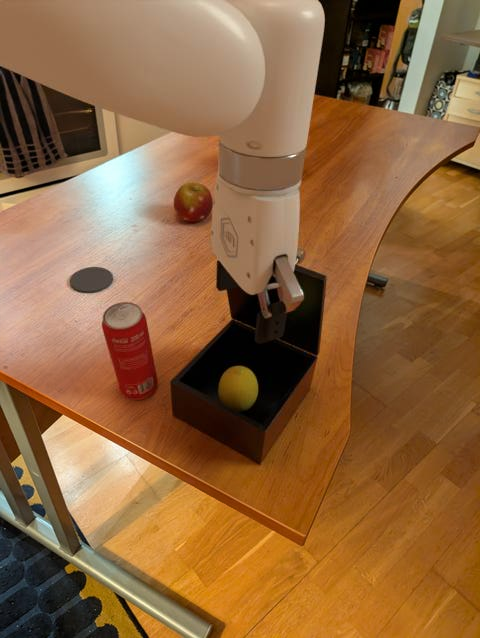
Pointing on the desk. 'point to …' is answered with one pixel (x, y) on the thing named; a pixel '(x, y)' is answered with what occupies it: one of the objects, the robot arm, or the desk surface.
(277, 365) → the black open square box
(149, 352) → the beverage can
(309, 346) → the lid
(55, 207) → the desk surface
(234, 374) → the lemon
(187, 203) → the fruit
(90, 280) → the coaster
